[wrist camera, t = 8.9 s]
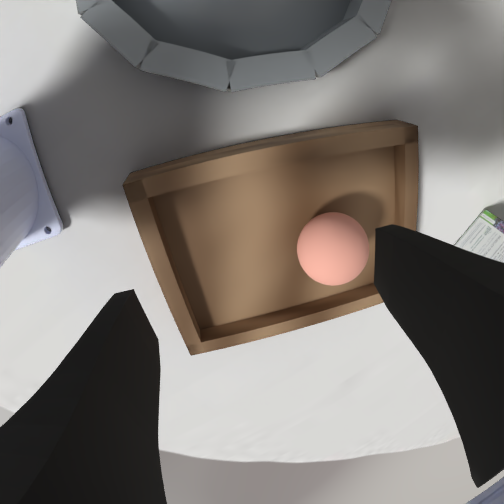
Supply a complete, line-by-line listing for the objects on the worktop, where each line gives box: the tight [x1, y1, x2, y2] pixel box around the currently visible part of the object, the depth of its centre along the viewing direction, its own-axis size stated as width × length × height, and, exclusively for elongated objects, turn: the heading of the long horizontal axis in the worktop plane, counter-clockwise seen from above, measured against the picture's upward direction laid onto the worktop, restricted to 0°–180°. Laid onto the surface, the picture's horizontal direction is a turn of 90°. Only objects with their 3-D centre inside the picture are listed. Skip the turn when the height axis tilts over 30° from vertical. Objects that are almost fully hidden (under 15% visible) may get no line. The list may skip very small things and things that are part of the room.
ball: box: [297, 212, 369, 286], centre depth 17 cm, size 4×4×4 cm
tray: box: [123, 120, 419, 355], centre depth 19 cm, size 16×12×2 cm
